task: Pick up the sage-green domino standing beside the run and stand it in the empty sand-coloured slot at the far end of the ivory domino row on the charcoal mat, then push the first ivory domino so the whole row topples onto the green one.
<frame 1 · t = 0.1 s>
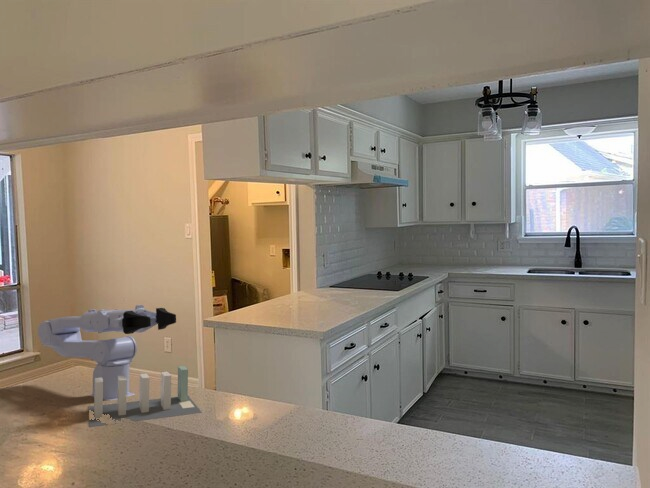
hand: (162, 320, 122), 21 cm above the counter, tool horizontal, fingers open, 7 cm apart
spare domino: (182, 399, 128), resting on mat
mat: (143, 411, 119), on the counter
domino 4: (165, 406, 121), resting on mat
domino 3: (143, 409, 119), resting on mat
domino 1: (98, 415, 114), resting on mat
domino 2: (121, 412, 116), resting on mat
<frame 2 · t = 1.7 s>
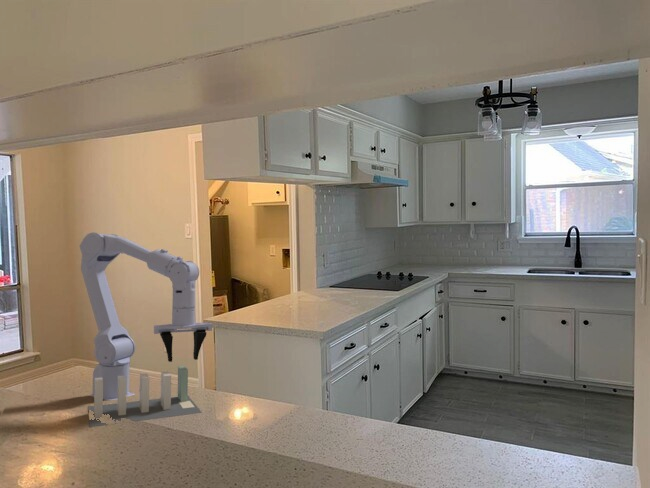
hand: (183, 360, 128), 10 cm above the counter, tool pointing down, fingers open, 6 cm apart
nothing on the counter moved.
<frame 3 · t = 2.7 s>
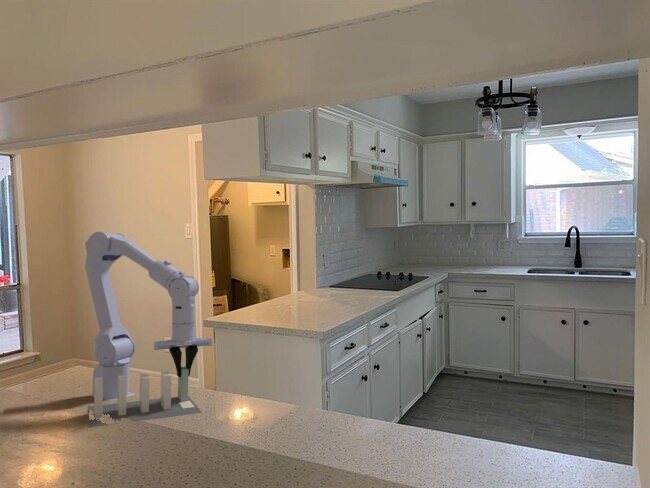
hand: (183, 375, 128), 6 cm above the counter, tool pointing down, fingers closed on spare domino, 1 cm apart
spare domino: (182, 399, 128), resting on mat, touching gripper
everything else where it was.
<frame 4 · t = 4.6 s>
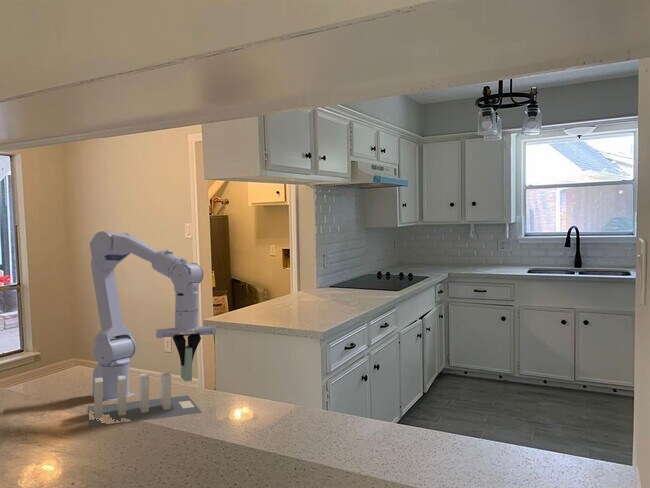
hand: (186, 364, 125), 10 cm above the counter, tool pointing down, fingers closed on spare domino
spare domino: (186, 379, 125), point 6 cm above the counter, touching gripper
everything else where it was.
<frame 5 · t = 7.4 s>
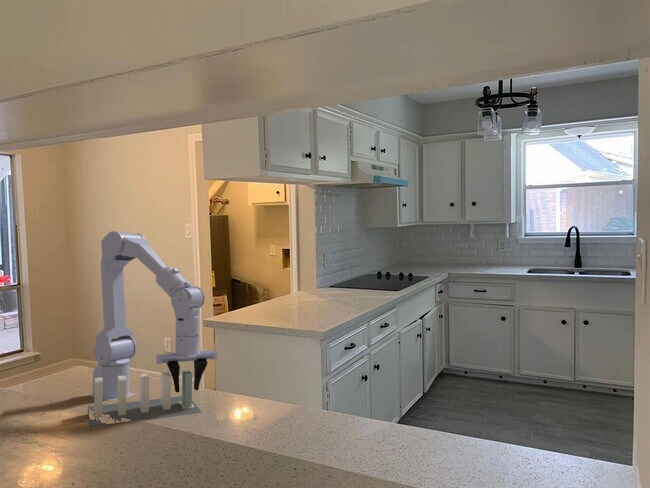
hand: (186, 390, 123), 4 cm above the counter, tool pointing down, fingers open, 4 cm apart
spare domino: (186, 404, 123), resting on mat
everything else where it was.
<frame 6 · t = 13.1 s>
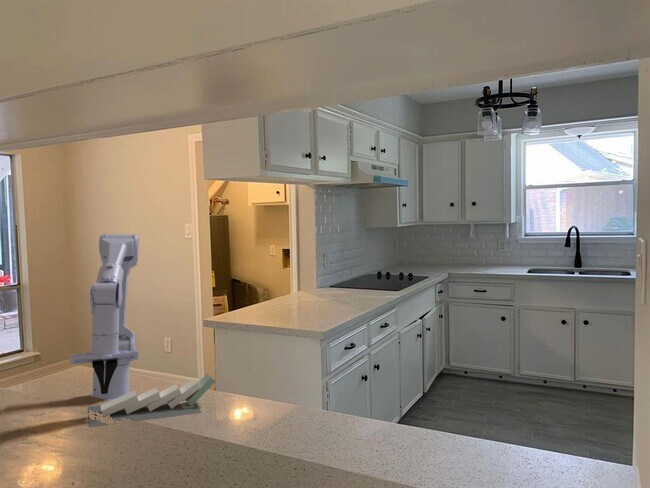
hand: (104, 392, 115), 5 cm above the counter, tool pointing down, fingers closed
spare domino: (187, 401, 123), point 1 cm above the counter, tilted 46°, touching mat
domino 4: (168, 403, 121), point 1 cm above the counter, tilted 58°, touching domino 3, mat
domino 3: (147, 406, 119), point 1 cm above the counter, tilted 65°, touching domino 2, domino 4, mat
domino 1: (101, 411, 115), point 1 cm above the counter, tilted 70°, touching domino 2, mat
domino 2: (125, 408, 117), point 1 cm above the counter, tilted 69°, touching domino 1, domino 3, mat
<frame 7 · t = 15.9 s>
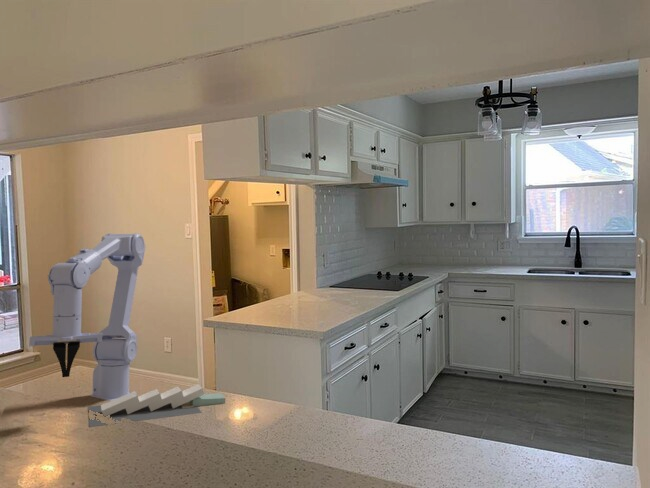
hand: (65, 376, 112), 10 cm above the counter, tool pointing down, fingers closed
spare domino: (191, 400, 123), point 1 cm above the counter, tilted 93°, touching domino 4, mat
domino 4: (170, 403, 121), point 1 cm above the counter, tilted 71°, touching domino 3, mat, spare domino
domino 3: (148, 405, 119), point 1 cm above the counter, tilted 71°, touching domino 2, domino 4, mat
everything else where it was.
at the end: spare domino tilted 93°; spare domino inside the target area on the mat (1.0 cm from its centre), point 1.3 cm above the mat's base; domino 4 tilted 71° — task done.
